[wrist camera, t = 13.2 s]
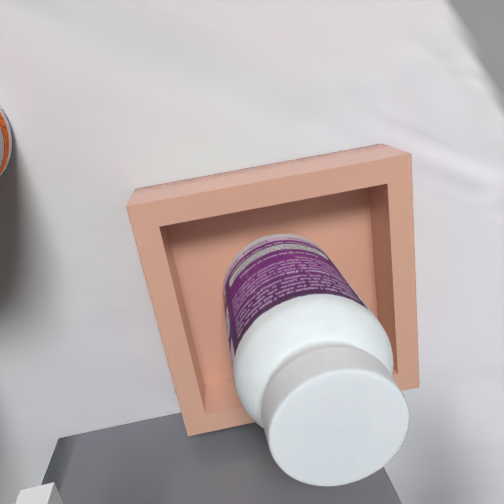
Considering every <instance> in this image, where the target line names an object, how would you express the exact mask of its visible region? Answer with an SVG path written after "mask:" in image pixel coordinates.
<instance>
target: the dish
mask: <svg viewBox="0 0 504 504" xmlns="http://www.w3.org/2000/svg"><path fill="white" fill-rule="evenodd" d="M126 208H127V211H128V215H129V219H130V223H131V226H132V230H133V234H134V238H135V241H136V245H137V249H138V252H139V256H140V260H141V264H142V267H143V271H144V275H145V279H146V282H147V286H148V290H149V293H150V297H151V301H152V305H153V308H154V312H155V316H156V320H157V323H158V327H159V331H160V334H161V338H162V342H163V346H164V349H165V353H166V357H167V360H168V364H169V368H170V372H171V375H172V379H173V383H174V387H175V390H176V394H177V398H178V401H179V405H180V409H181V413H182V416H183V420H184V424H185V428H186V431H187V435H188V436H192V435H197V434H202V433H207V432H211V431H216V430H221V429H225V428H230V427H235V426H239V425H244V424H249V423H253V422H255V421H254V420H253V419H252V418H251V417H250V416H249V414H248V413H247V412H246V410H245V409H244V407H243V405H242V404H241V402H240V400H239V397H238V395H237V391H236V388H235V383H234V378H233V371H232V363H231V357H230V348H229V340H228V334H227V326H226V319H225V310H224V300H223V282H224V277H225V274H226V271H227V268H228V266H229V264H230V262H231V261H232V260H233V258H234V257H235V256H236V255H237V254H238V253H239V252H240V251H241V250H242V249H243V248H244V247H245V246H247V245H248V244H250V243H251V242H253V241H255V240H257V239H259V238H261V237H263V236H268V235H272V234H295V235H300V236H303V237H305V238H307V239H309V240H311V241H313V242H315V243H316V244H317V245H319V246H320V247H321V248H322V249H323V250H324V251H325V252H326V254H327V255H328V256H329V258H330V259H331V260H332V262H333V263H334V264H335V265H336V267H337V268H338V269H339V271H340V272H341V273H342V275H343V276H344V277H345V279H346V280H347V281H348V283H349V284H350V285H351V286H352V288H353V289H354V290H355V292H356V293H357V294H358V295H359V297H360V298H361V299H362V300H363V302H364V303H365V304H366V305H367V307H368V308H369V309H370V310H371V312H372V313H373V314H374V316H375V317H376V318H377V319H378V321H379V322H380V324H381V325H382V327H383V328H384V330H385V332H386V334H387V336H388V338H389V341H390V344H391V348H392V353H393V374H392V377H393V379H394V381H395V382H396V384H397V385H398V387H399V389H400V390H401V391H403V390H408V389H412V388H417V387H419V361H418V332H417V303H416V274H415V246H414V217H413V188H412V159H411V153H408V152H405V151H402V150H399V149H396V148H393V147H390V146H387V145H384V144H377V145H372V146H366V147H361V148H355V149H350V150H345V151H339V152H334V153H328V154H323V155H317V156H312V157H306V158H301V159H296V160H290V161H285V162H279V163H274V164H268V165H263V166H257V167H252V168H247V169H241V170H236V171H230V172H225V173H219V174H214V175H208V176H203V177H198V178H192V179H187V180H181V181H176V182H170V183H165V184H159V185H154V186H149V187H143V188H138V189H135V191H134V193H133V195H132V196H131V198H130V200H129V202H128V204H127V206H126Z"/></svg>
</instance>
